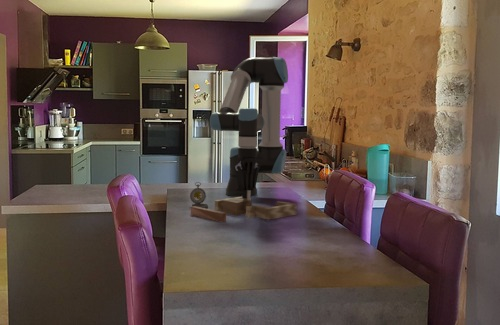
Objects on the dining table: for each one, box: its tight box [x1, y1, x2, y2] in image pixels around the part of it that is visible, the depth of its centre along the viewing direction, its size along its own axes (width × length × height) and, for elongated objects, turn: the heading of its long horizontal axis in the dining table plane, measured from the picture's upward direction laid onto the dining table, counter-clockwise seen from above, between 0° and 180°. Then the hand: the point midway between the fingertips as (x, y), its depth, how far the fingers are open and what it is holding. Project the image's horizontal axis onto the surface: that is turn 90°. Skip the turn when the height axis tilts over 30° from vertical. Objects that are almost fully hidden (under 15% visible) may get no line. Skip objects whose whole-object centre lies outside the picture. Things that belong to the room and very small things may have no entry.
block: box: [222, 197, 253, 216], centre depth 212 cm, size 8×8×5 cm
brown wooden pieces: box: [190, 196, 298, 223], centre depth 209 cm, size 32×27×4 cm
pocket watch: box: [189, 181, 209, 209], centre depth 223 cm, size 8×8×10 cm
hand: (246, 206), depth 215 cm, fingers closed
